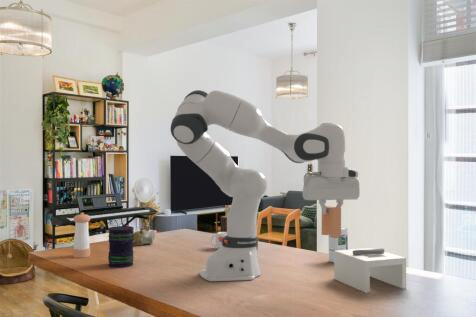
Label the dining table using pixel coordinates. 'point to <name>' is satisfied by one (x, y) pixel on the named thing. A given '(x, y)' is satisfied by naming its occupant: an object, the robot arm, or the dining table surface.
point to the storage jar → (121, 246)
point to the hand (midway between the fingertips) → (331, 213)
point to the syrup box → (338, 243)
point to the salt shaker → (81, 236)
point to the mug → (218, 239)
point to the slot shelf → (369, 268)
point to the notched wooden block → (332, 222)
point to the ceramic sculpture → (143, 237)
